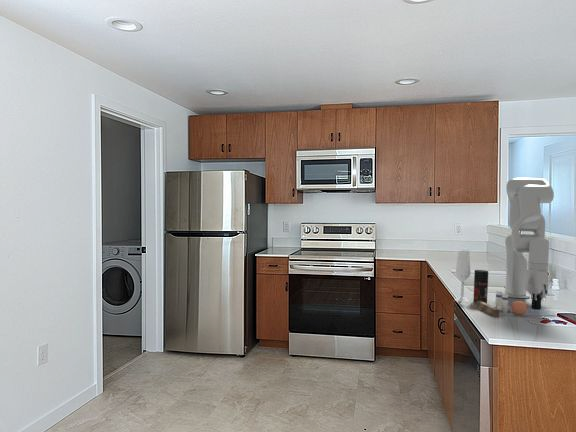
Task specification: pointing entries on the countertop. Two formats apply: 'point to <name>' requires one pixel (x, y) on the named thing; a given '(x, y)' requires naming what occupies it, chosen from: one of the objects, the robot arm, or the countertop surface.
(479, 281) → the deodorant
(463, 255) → the champagne flute
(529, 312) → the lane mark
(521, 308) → the ball
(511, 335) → the countertop surface
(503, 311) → the pin
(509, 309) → the pin front
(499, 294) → the pin
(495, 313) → the back wall
